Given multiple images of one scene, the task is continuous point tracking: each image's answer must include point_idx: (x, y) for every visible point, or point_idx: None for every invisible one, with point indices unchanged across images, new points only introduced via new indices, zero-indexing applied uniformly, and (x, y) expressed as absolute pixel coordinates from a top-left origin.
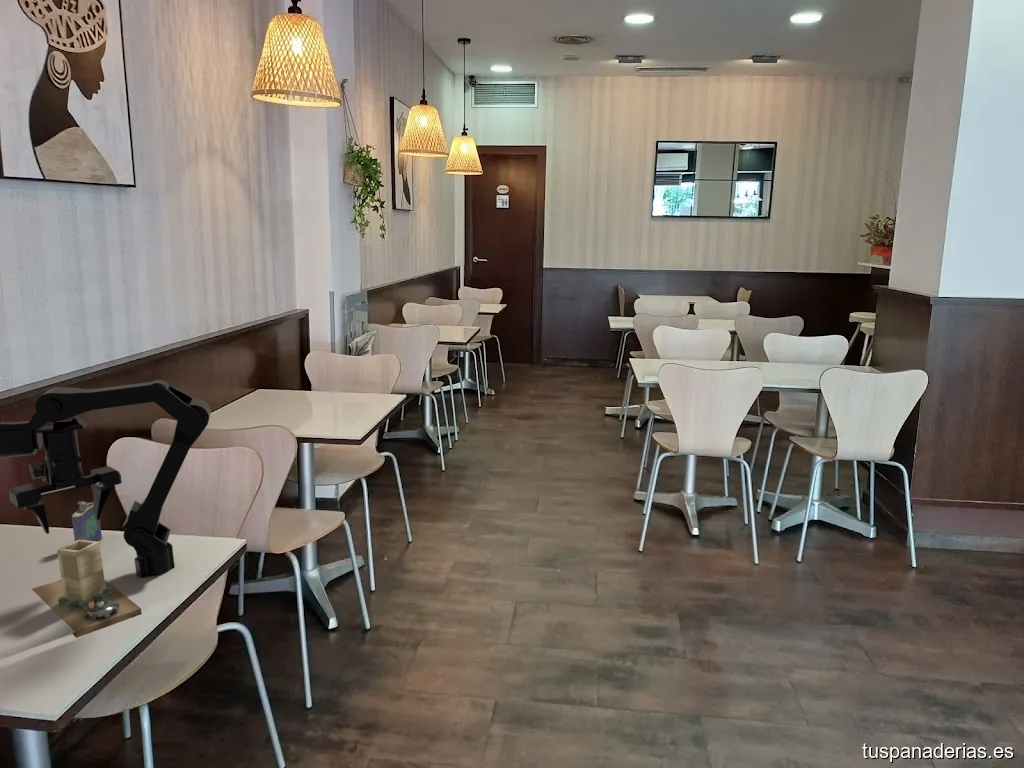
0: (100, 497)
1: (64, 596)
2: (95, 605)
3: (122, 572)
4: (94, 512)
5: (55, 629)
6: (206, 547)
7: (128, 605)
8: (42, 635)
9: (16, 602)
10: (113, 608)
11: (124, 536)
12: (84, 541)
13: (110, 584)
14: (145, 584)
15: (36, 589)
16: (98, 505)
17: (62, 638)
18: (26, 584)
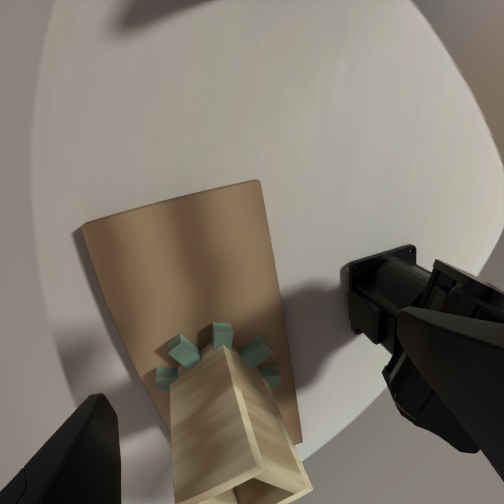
0: (495, 469)
1: (171, 386)
2: None
3: (327, 214)
4: (428, 335)
5: (155, 427)
6: (481, 192)
7: (289, 429)
8: (135, 434)
9: (52, 253)
10: None
11: (398, 406)
12: (273, 482)
13: (283, 324)
14: (348, 324)
15: (92, 242)
16: (462, 422)
17: (170, 454)
18: (72, 131)
